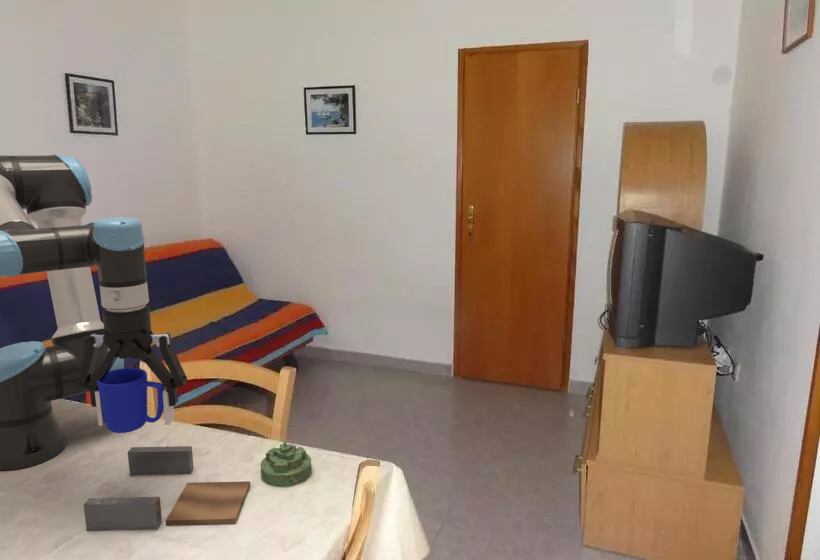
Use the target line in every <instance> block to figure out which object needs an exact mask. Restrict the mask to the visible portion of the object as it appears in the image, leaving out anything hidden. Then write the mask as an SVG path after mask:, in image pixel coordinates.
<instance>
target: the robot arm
mask: <svg viewBox="0 0 820 560" xmlns="http://www.w3.org/2000/svg"><path fill="white" fill-rule="evenodd" d="M92 200H93V194H92V186H91V182H90V178H89V175H88V173H87V171H86V169H85V166H84V165H83V164H82V162H80V160H79V159H78V158H77V157H74V156H71V155H59V154H51V155H48V154H47V155H0V277H17V276H21V275H29V274H36V273H37V274H39V273H45V272H46V275H47V280H48V284H49V290H50V291H49V292H50V295H51V300H52V301H51V302H52V305H53V311H54V316H55V321H56V326H57V330H56V331H55V332H54V334H53V335H52V337H51V342H52V345H51V346H45V345H44V344H43V342H41V341H38V340H36V341H35V340H31V341H22V342H17V343H13V344H10V345H6V346H3V347H0V471H10V470H19V469H24V468H28V467H33V466H36V465H39V464H41V463H43V462H47V461H49V460H50V459H53V458H54V457H56V456H57V455H59V454H60V453H61V452H63V451H64V449H65V448H66V446H67V442H66V434H65V432H64V430H63V429H62V427H61V425H60V423H59V421H58V420H57V418H56V416H55V415H54V412H53V406H52V401H56V400H59V399H65V398H69V397H73V396H77V395H82V394H86V393H89V395H90V404H91V406H92V407H93V408H96V414H97V423H98V427H99V426H101V427H102V426H104V425H106V423H105V418H104V414H103V409H102V404H101V399H100V394H99V390H98V385H97V380H99V381H102V380H103V379H104V378H105V377H106V375H107V374H108V372H109V371H112V370H117V369H122V368H124V365H125V359H127V358H128V359H133V360H134V359H136V360H137V359H139V360H140V361H141V362H142V363H144V364H146V365H147V367H148V368H149V369H150V371H151V372H152V373H153V374H154V375H155V376H156V377H157V379H158V380H159V382H160V383H162V384H163V385H164V391H163V405H164V406H163V413H164V414H163V415H164V425H165V426H169V425H171V424H172V422H173V421H174V420H175V408H174V407H175V406H176V405H177V404H178V401H179V395H178V388H182V387H183V386H184V385H185V384H186V383H187V381H188V377H187V375H186V372H185V371H184V368H183V366H182V364H181V361H179V360H180V359H179V358H178V356H177V354H176V352H175V349H174V347H173V345H172V338H171V334H170V333H169V332H164V334H154V333H153V331H152V323H151V322H152V320H151V311H150V310H151V309H150V307H149V305H147V304H149V302H150V297H149V288H148V287H149V286H148V279H147V276H148V275H147V267H146V264H147V263H146V254H145V253H146V251H145V240H146V239H145V236H144V233H143V231H144V230H143V227H142V226H143V225H142V222H141V221H140V219H138V218H136V217H127V216H118V217H117V216H116V217H114V216H112V217H104V218H99V219H97V220H96V221H90V222H87V223H85V224H82V219H83V217H84V216H85V215H86V213H87V206H90V205H91V204H92ZM24 210H26V212H25V211H24ZM32 222H33V223H34V224H36V226H37V228H36V227H35V226H34V224H33V223H32ZM91 267H97V274H98V283H99V292H100V303H101V307H102V308H103V310H102V320H101V315H100V311H99V306H98V302H97V295H96V291H95V285H94V282H93V281H94V280H93V276H92V271H91ZM153 343H155V344H156V347H157V348H159V351H160V354H161V356H162V358H163V360H164V362H165V364H166V365H165V364H164V363H163V362H162V360H161V359H160V358H159V357H158V356H157V354H156V353H157V352H156V351H155V349H154V348H153V347H152V344H153Z"/></svg>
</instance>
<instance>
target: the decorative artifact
mask: <svg viewBox="0 0 820 560" xmlns="http://www.w3.org/2000/svg"><path fill="white" fill-rule="evenodd" d="M311 474H312V458H311V456H310V455H309V454H307V451H306V449H305V448H304V447H302V446H299V447H297V445H295V444H292V443H291V444H290V443H289V444H288V443H287V441H284V442H283V443H281V444H279V447H278V448H277V447H273V448H271V449H269V450H267V452H266V453H265V457H264V458H263V459H262V460H261V462H260V479H261V480H262V482H264V483H265V484H266V485H268V486H272V487H275V488H276V487H277V488H279V487H280V488H287V487H292V486H296V485H300V484H301V483H303V482H305V481H306V480H308V479H309V477H311Z"/></svg>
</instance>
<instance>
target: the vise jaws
mask: <svg viewBox="0 0 820 560" xmlns="http://www.w3.org/2000/svg"><path fill="white" fill-rule="evenodd" d="M193 456H194V454H193V446H192V445H188V446H185V445H183V446H182V445H181V446H170V445H169V446H137V447H136V446H132V447H130V449H129V450H127V459H128V461H127V462H128V467H129V468H128V469H129V470H128V471H129V475H130V476H134V475H135V476H139V475H141V476H144V475H147V476H148V475H187V474H188V475H189V474H192V472H193V470H194V459H193V458H194V457H193ZM83 511H84V519H85V527H86V532H92V531H94V532H98V531H100V532H101V531H103V532H104V531H138V530H141V531H142V530H159V528H160V526H161V525H162V523H163V520H162V519H163V518H162V506H161V498H160V496H131V497H129V496H127V497H126V496H125V497H124V496H123V497H119V496H118V497H89V498H88V499H87V500H86V501H85V502H84V504H83Z"/></svg>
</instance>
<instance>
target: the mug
mask: <svg viewBox="0 0 820 560" xmlns="http://www.w3.org/2000/svg"><path fill="white" fill-rule="evenodd" d="M97 385H98V390H99V394H100V399H101V404H102V409H103V414H104V418H105V426H106V428H107V430H108V431H110V432H112V433H116V434H126V433H132V432H133V431H137V430H139V429H141V428H143V427H144V426H145V424H146V423H150V424H151V423H156V422H158V421H159V420H160V419H161V417H162V415H163V413H164V405H163V391H164V389H165V386H164V385H163V384H162V383H161V382H157V381H149V380H148V373H147V371H146V370H144V369H142V368H137V367H125V368H122V369H117V370H112V371H109V372H108V374H107V375H106V377H105V378H104V379H103V380H102V381H99V380H97ZM149 387H150V388H155V389H157V410H156V411H157V412H156V415H155V416H154V417H150V416H149V415H148V388H149Z"/></svg>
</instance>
